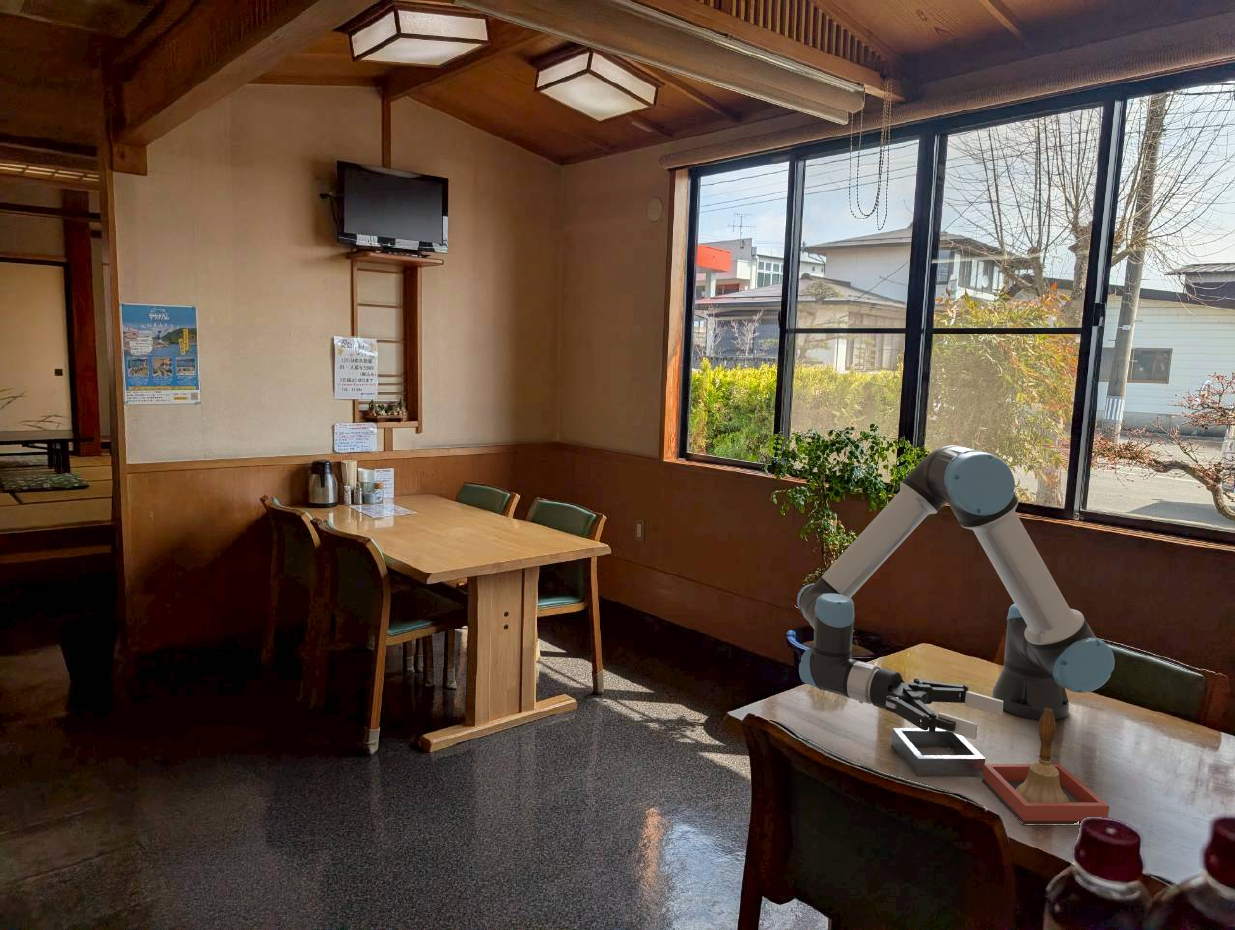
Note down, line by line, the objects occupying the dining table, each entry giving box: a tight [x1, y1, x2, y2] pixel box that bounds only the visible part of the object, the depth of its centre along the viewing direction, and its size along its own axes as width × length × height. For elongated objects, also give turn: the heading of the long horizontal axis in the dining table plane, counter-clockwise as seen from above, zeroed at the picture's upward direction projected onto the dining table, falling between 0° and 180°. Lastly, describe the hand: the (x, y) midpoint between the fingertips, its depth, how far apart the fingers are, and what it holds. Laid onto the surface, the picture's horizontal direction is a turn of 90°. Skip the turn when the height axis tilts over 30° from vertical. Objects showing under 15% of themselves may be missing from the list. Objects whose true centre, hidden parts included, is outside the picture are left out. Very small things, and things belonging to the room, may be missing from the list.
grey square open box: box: [891, 727, 986, 778], centre depth 156 cm, size 12×12×4 cm
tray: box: [981, 763, 1110, 825], centre depth 141 cm, size 14×14×3 cm
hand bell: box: [1016, 708, 1069, 803], centre depth 140 cm, size 8×8×16 cm
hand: (990, 719), depth 146 cm, fingers open, 13 cm apart
